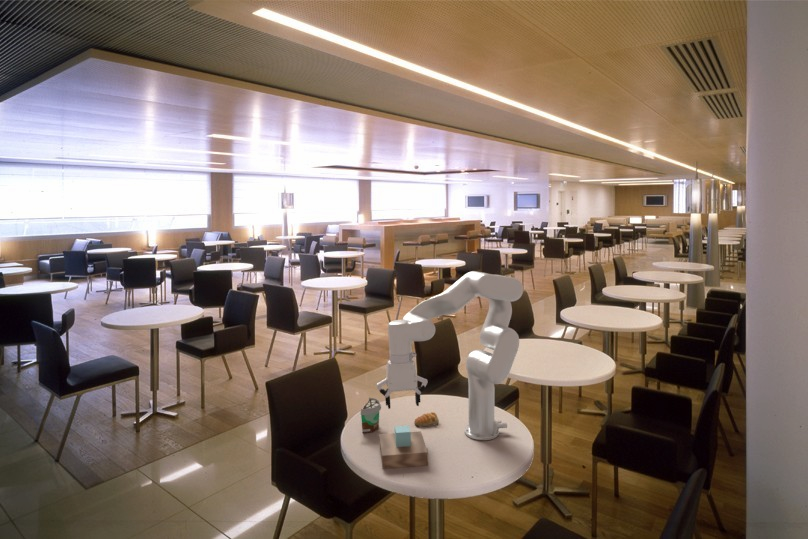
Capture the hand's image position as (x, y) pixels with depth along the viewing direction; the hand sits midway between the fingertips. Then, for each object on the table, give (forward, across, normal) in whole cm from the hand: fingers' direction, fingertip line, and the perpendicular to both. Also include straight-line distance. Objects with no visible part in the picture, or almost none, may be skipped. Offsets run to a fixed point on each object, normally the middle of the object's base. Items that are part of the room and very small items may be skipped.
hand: (403, 405), depth 162 cm
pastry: (+19, -11, -23) cm, 32 cm away
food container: (+18, +10, -22) cm, 30 cm away
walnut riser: (+18, +1, 0) cm, 18 cm away
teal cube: (+13, +1, 0) cm, 13 cm away
